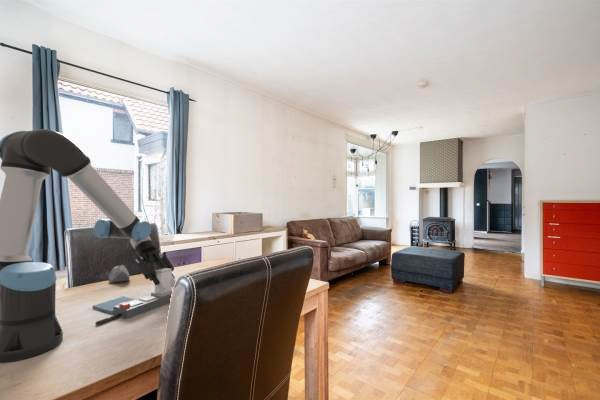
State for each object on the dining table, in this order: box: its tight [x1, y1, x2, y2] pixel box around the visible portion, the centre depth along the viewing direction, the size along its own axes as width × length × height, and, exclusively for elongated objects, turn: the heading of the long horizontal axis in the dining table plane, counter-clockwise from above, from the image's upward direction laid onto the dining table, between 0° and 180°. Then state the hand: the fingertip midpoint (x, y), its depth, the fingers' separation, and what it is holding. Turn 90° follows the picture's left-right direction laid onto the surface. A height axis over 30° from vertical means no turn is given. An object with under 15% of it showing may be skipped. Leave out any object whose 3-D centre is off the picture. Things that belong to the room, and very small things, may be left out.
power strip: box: [95, 288, 174, 326], centre depth 111 cm, size 32×8×4 cm, turn 154°
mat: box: [92, 296, 136, 315], centre depth 114 cm, size 12×12×1 cm
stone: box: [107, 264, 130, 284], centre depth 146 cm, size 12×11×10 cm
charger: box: [154, 268, 173, 294], centre depth 120 cm, size 5×4×10 cm
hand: (169, 288), depth 118 cm, fingers closed on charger, 5 cm apart
